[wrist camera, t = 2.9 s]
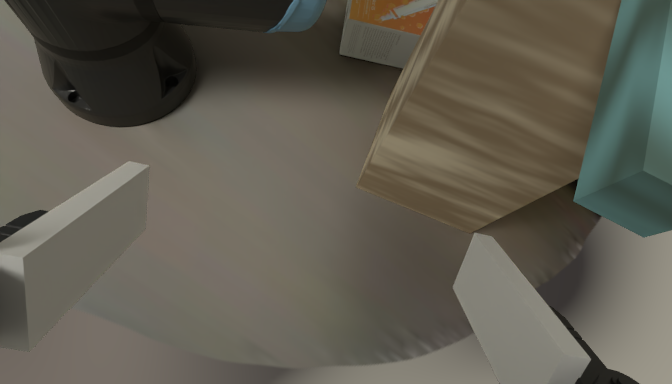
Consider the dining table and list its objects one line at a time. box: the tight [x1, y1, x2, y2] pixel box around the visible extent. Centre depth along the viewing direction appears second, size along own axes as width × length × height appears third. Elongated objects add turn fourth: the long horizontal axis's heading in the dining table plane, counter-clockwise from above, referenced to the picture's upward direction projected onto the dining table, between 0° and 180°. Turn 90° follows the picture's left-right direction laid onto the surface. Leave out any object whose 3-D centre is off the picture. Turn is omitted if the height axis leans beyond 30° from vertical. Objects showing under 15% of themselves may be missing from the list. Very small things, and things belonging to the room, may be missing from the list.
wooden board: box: [356, 0, 621, 234], centre depth 32 cm, size 14×14×32 cm
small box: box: [339, 0, 438, 68], centre depth 49 cm, size 8×6×13 cm
